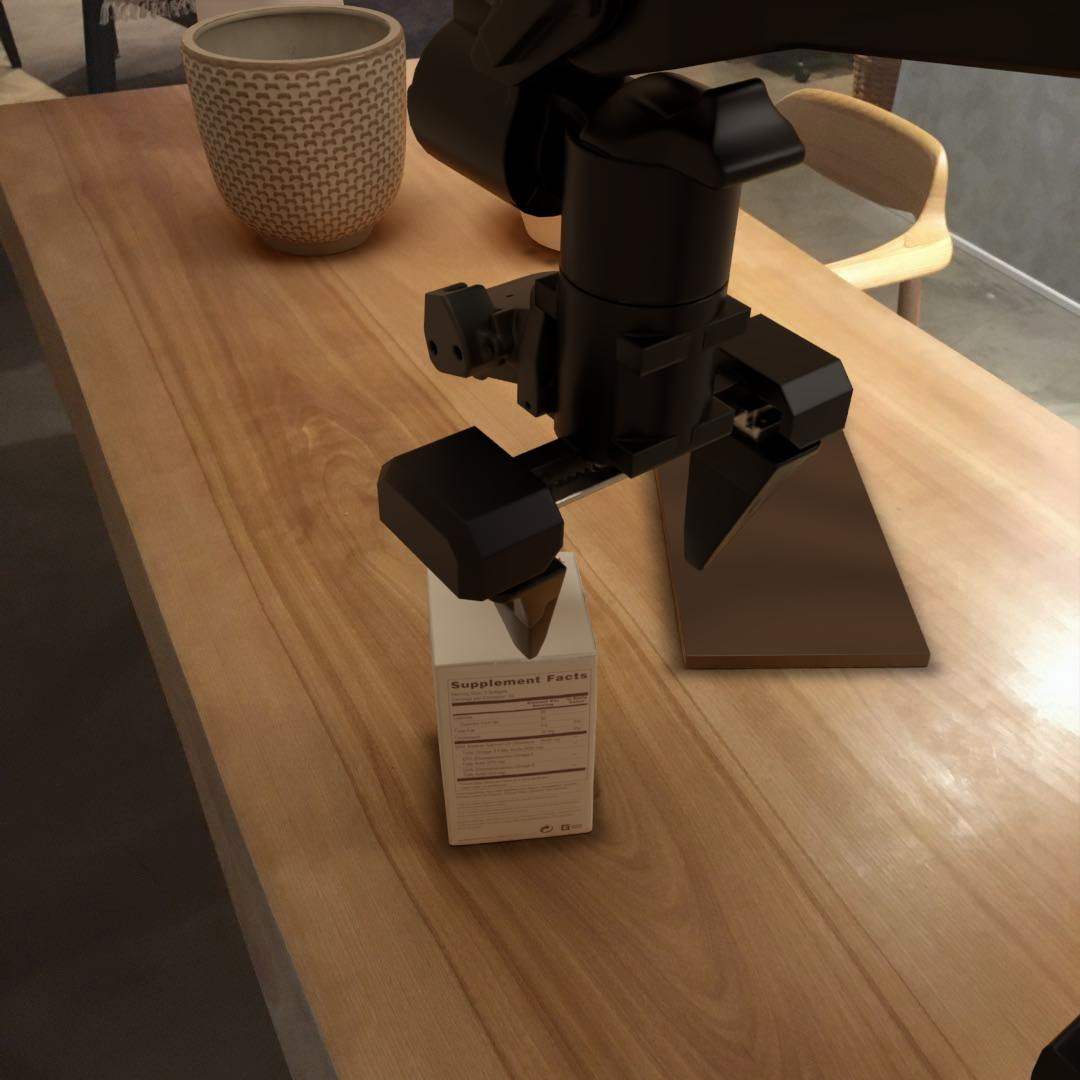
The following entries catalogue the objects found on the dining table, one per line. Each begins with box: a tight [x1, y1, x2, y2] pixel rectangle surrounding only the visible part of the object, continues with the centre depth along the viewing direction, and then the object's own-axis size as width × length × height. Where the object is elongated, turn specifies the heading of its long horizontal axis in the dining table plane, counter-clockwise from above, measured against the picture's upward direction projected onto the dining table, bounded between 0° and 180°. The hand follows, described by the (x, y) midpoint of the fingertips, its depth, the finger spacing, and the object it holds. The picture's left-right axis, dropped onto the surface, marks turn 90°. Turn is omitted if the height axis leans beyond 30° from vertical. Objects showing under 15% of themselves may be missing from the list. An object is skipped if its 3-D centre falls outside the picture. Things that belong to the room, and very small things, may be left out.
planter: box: [180, 4, 408, 257], centre depth 110 cm, size 20×20×19 cm
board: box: [653, 429, 931, 669], centre depth 80 cm, size 32×14×1 cm, turn 1°
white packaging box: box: [425, 550, 599, 846], centre depth 57 cm, size 7×7×13 cm
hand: (613, 606), depth 49 cm, fingers open, 9 cm apart
